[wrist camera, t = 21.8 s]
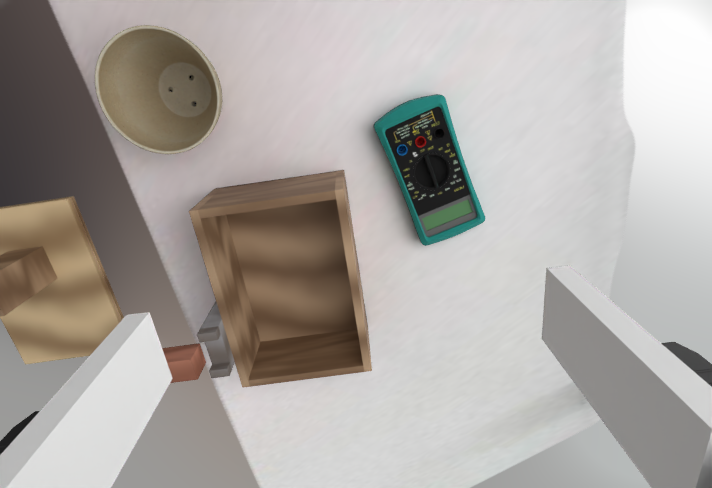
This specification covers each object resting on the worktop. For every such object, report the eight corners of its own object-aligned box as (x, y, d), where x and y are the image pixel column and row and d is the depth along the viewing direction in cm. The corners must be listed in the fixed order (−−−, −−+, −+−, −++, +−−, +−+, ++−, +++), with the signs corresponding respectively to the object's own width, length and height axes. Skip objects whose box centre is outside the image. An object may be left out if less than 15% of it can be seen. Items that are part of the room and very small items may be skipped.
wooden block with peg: (-45, 213, 46) (-135, 246, 37) (73, 196, 45) (10, 224, 37) (32, 358, 53) (-28, 412, 44) (134, 344, 53) (94, 396, 44)
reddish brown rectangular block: (105, 355, 41) (90, 372, 39) (199, 343, 41) (190, 359, 39) (113, 374, 42) (99, 392, 40) (205, 362, 42) (197, 379, 39)
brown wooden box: (198, 191, 45) (159, 222, 35) (344, 170, 44) (343, 196, 35) (243, 345, 52) (220, 404, 43) (368, 328, 52) (373, 385, 42)
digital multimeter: (437, 87, 42) (443, 88, 39) (480, 216, 47) (489, 224, 45) (369, 117, 43) (371, 120, 40) (419, 240, 48) (424, 250, 45)
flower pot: (190, 161, 44) (162, 177, 37) (113, 81, 41) (68, 82, 34) (260, 98, 42) (244, 103, 35) (185, 8, 38) (152, -5, 32)
